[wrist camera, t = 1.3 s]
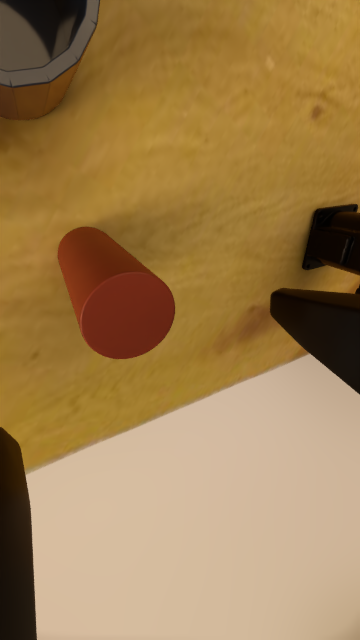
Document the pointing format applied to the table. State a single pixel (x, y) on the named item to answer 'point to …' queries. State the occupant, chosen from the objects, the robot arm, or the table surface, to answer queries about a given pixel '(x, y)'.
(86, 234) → the dowel
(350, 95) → the table surface
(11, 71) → the can
